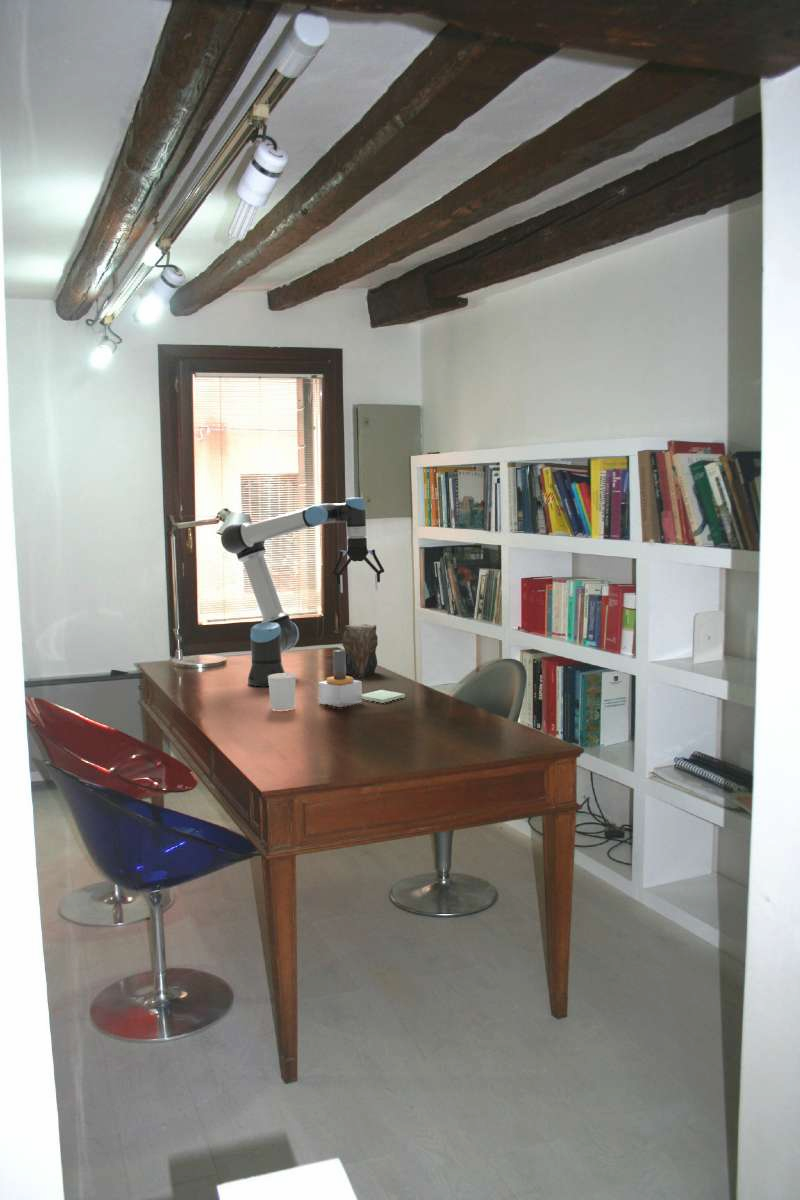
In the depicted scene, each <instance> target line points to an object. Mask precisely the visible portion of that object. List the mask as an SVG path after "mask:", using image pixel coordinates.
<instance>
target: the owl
mask: <svg viewBox="0 0 800 1200" xmlns="http://www.w3.org/2000/svg"><path fill="white" fill-rule="evenodd" d="M344 629H345V631H344V633H343V635H342V639H341V642H342V647H343V649H344V650H345V657H346V674H349V675H348V676H350V675H355V676H360V677H359V678H362V677H363V676H365V677H367V676H366V675H368V676H371V675H373V674H372V673H374V674H375V673H376V669H377V666H378V659H377V658H378V657H377V654H376V652H377V646H378V638H379V637H378V635H377V625H376V624H375V625H371V624H364V623H363V624H360V625H350V624H348V625H345V626H344ZM370 674H371V675H370ZM355 676H354V677H355ZM363 678H364V677H363Z"/></svg>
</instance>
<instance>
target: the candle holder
mask: <svg viewBox="0 0 800 1200" xmlns="http://www.w3.org/2000/svg"><path fill="white" fill-rule="evenodd" d="M296 676H297V675H296V674H295V673H289V672H285V673H277V674H271V675H269V676H268V683H269V687H268V692H269V703H270V704H269V705H270V710H271V709H275V710H286V709H292V708H294V707H295V706H296V683H297V682H296V678H297V677H296ZM295 708H296V707H295Z"/></svg>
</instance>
